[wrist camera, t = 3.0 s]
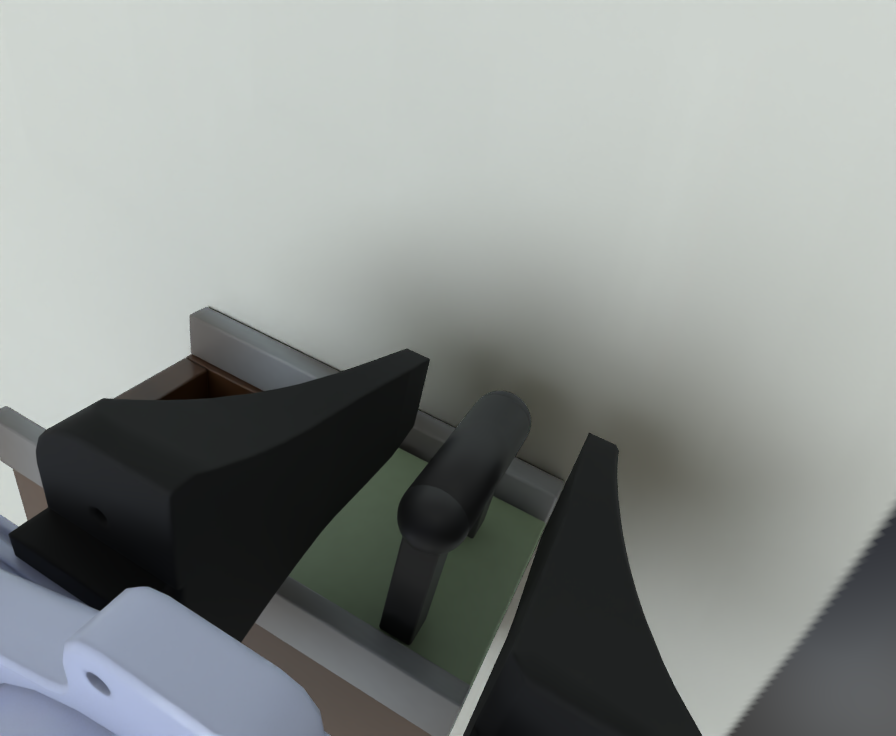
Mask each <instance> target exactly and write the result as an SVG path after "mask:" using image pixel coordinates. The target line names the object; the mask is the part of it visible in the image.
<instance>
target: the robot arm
mask: <svg viewBox="0 0 896 736" xmlns="http://www.w3.org/2000/svg"><path fill="white" fill-rule="evenodd" d="M429 362H430V359H429V358H427V357H424V356H422V355H420V354H418V353H416V352H414V351H411V350H409V349H405V350H402V351H399V352H396V353H393V354H390V355H388V356H385V357H382V358H379V359H377V360H374V361H371V362H368V363H365V364H362V365H360V366H357V367H354V368H351V369H348V370H345V371H342V372H339V373H336V374H332V375H329V376H325V377H322V378H318V379H315V380H311V381H308V382H304V383H301V384H296V385H292V386H288V387H283V388H279V389H273V390H268V391H263V392H257V393H250V394H242V395H233V396H225V397H216V398H205V399H188V400H131V399H106V398H103V399H101V400H99V401H97V402H95V403H94V404H92V405H90V406H88V407H86V408H85V409H83V410H81V411H79V412H77V413H76V414H74V415H72V416H70V417H68V418H67V419H65V420H63V421H61V422H59V423H58V424H56V425H54V426H52V427H51V428H49V429H47V430H45V431H44V432H43V433H42V434H41V435H40V436H39V437H38V442H37V447H36V459H37V465H38V469H39V473H40V477H41V481H42V485H43V489H44V493H45V497H46V501H47V505H48V508H46V509H45V510H43V511H42V512H40V513H39V514H37V515H36V516H34V517H33V518H31V519H30V520H28V521H27V522H25V523H24V524H22V525H21V526H19V527H18V526H17V525H15V524H14V523H12V522H11V521H9V520H8V519H6V518H5V517H3V516H2V515H0V736H331V735H329V734H328V733H326V732H325V731H324V727H323V723H322V718H321V713H320V710H319V709H318V707H317V706H316V704H315V703H314V702H313V700H312V699H311V697H310V696H309V695H308V693H307V692H306V691H305V689H304V688H303V687H302V686H301V685H299V684H298V683H297V682H296V681H295V680H293V679H292V678H291V677H290V676H289V675H287V674H286V673H285V672H284V671H283V670H281V669H280V668H279V667H277V666H276V665H274V664H273V663H271V662H270V661H268V660H266V659H265V658H263V657H262V656H260V655H259V654H257V653H256V652H254V651H253V650H251V649H250V648H248V647H247V646H245V645H243V644H242V643H241V642H242V641H243V639H244V638H245V636H246V635H247V633H248V632H249V630H250V629H251V628H252V626H253V625H254V623H255V622H256V620H257V619H258V618H259V616H260V615H261V613H262V612H263V610H264V609H265V608H266V606H267V605H268V603H269V602H270V600H271V599H272V598H273V596H274V595H275V593H276V592H277V591H278V589H279V588H280V587H281V585H282V584H283V582H284V581H285V580H286V578H287V577H288V576H289V574H290V573H291V572H292V570H293V569H294V567H295V566H296V565H297V563H298V562H299V561H300V559H301V558H302V557H303V556H304V554H305V553H306V552H307V550H308V549H309V548H310V546H311V545H312V544H313V542H314V541H315V540H316V539H317V537H318V536H319V535H320V533H321V532H322V531H323V530H324V529H325V527H326V526H327V525H328V524H329V523H330V522H331V520H332V519H333V518H334V517H335V516H336V515H337V514H338V513H339V512H340V511H341V510H342V509H343V508H344V507H345V506H346V505H347V503H348V502H349V501H350V500H351V499H352V498H353V497H354V496H355V495H356V494H357V493H358V492H359V491H360V490H361V489H362V488H363V487H364V486H365V485H366V484H367V483H368V482H369V480H370V479H371V478H372V477H373V476H374V475H375V474H376V473H377V472H378V471H379V470H380V469H381V468H382V467H383V466H384V465H385V463H386V462H387V461H388V460H389V459H390V458H391V457H392V456H393V454H394V453H395V452H396V450H397V449H398V448H399V446H400V445H401V444H402V442H403V441H404V439H405V438H406V436H407V435H408V434H409V432H410V431H411V429H412V428H413V426H414V424H415V420H416V416H417V412H418V408H419V403H420V399H421V395H422V391H423V387H424V382H425V378H426V374H427V370H428V366H429ZM618 454H619V450H618V448H617V446H616V445H615V444H613V443H611V442H608V441H606V440H604V439H602V438H600V437H598V436H595V435H593V434H591V433H589V434H588V436H587V438H586V441H585V443H584V445H583V447H582V449H581V451H580V454H579V456H578V458H577V460H576V462H575V464H574V466H573V469H572V471H571V473H570V475H569V477H568V479H567V482H566V484H565V486H564V488H563V490H562V492H561V494H560V497H559V499H558V501H557V503H556V505H555V507H554V510H553V512H552V514H551V516H550V518H549V520H548V523H547V525H546V527H545V529H544V531H543V534H542V536H541V539H540V542H539V545H538V548H537V551H536V554H535V557H534V560H533V563H532V566H531V569H530V572H529V575H528V578H527V581H526V584H525V587H524V590H523V593H522V596H521V599H520V602H519V605H518V608H517V611H516V614H515V617H514V620H513V623H512V625H511V628H510V630H509V633H508V636H507V638H506V640H505V643H504V645H503V647H502V649H501V652H500V654H499V656H498V658H497V661H496V663H495V665H494V667H493V670H492V672H491V674H490V676H489V679H488V681H487V683H486V685H485V688H484V690H483V692H482V694H481V697H480V699H479V701H478V703H477V706H476V708H475V710H474V712H473V714H472V717H471V719H470V721H469V723H468V726H467V728H466V730H465V732H464V735H463V736H702V734H701V733H700V731H699V729H698V727H697V726H696V724H695V722H694V720H693V718H692V717H691V715H690V713H689V711H688V710H687V708H686V706H685V704H684V702H683V701H682V699H681V697H680V695H679V693H678V692H677V690H676V688H675V686H674V684H673V682H672V680H671V678H670V676H669V673H668V671H667V669H666V667H665V665H664V663H663V661H662V658H661V656H660V653H659V651H658V648H657V646H656V643H655V641H654V638H653V636H652V633H651V631H650V629H649V626H648V624H647V621H646V619H645V616H644V613H643V610H642V607H641V604H640V601H639V598H638V595H637V591H636V588H635V584H634V581H633V577H632V574H631V570H630V566H629V561H628V557H627V553H626V547H625V542H624V537H623V531H622V525H621V517H620V508H619V500H618V483H617V464H618Z"/></svg>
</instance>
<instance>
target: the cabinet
mask: <svg viewBox="0 0 896 736" xmlns="http://www.w3.org/2000/svg"><path fill="white" fill-rule="evenodd" d="M190 340H191V353H192V354H191V355H189V356H187V358H184V359H182V360H181V361H179V362H177V363H175V364H174V365H172V366H170V367H168V368H167V369H165V370H163V371H161V372H159V373H158V374H156V375H154V376H152V377H151V378H149V379H147V380H145V381H144V382H142V383H140V384H138V385H137V386H135V387H133V388H131V389H130V390H128V391H126V392H124V393H122V394H121V395H119V396H117V397H115V398H114V399H131V400H188V399H205V398H216V397H225V396H233V395H242V394H250V393H257V392H263V391H268V390H273V389H279V388H283V387H288V386H292V385H296V384H301V383H304V382H308V381H311V380H315V379H318V378H322V377H325V376H329V375H332V374H336V373H339V371H337V370H335V369H333V368H331V367H329V366H327V365H325V364H323V363H321V362H319V361H317V360H315V359H313V358H311V357H309V356H307V355H305V354H303V353H301V352H298V351H296V350H294V349H292V348H290V347H288V346H286V345H284V344H282V343H280V342H278V341H276V340H274V339H272V338H270V337H268V336H266V335H264V334H262V333H260V332H258V331H255V330H253V329H251V328H249V327H247V326H245V325H243V324H241V323H239V322H237V321H235V320H233V319H231V318H229V317H227V316H225V315H223V314H221V313H219V312H217V311H215V310H212V309H210V308H208V307H205V308H203V309H201V310H199V311H197V312H195V313H193V314H191V315H190ZM455 429H456V428H454V427H452V426H450V425H448V424H446V423H444V422H442V421H440V420H438V419H436V418H434V417H432V416H430V415H428V414H425V413H423V412H421V411H419V410H418V412H417V416H416V420H415V424H414V426H413V428H412V429H411V431H410V432H409V434H408V435H407V436H406V438H405V439H404V441H403V442H402V444H401V445H400V446H399V448H400V449H402V450H404V451H406V452H408V453H410V454H412V455H414V456H416V457H418V458H420V459H422V460H424V461H426V462H428V463H429V462H430V460H431V459H432V458H433V456H434V455H435V454H436V453H437V451H438V450H439V449H440V448H441V446H442V445H443V444H444V443H445V441H446V440H447V439H448V437H449V436H450V435H451V434H452V432H453V431H454V430H455ZM45 430H46V429H44V428H43V427H41V426H39V425H38V424H36V423H34V422H33V421H31V420H29V419H28V418H26V417H24V416H23V415H21V414H19V413H18V412H16V411H14V410H13V409H11V408H9V407H8V406H5V407H3V408H1V409H0V460H1V461H2V462H3V463H5V464H7V465H8V466H10V467H11V468H13V471H14V475H15V478H16V482H17V485H18V489H19V492H20V496H21V499H22V503H23V506H24V510H25V513H26V517H27V520H30V519H31V518H33V517H34V516H36V515H37V514H39V513H40V512H42V511H43V510H45V509H46V508H48V505H47V501H46V497H45V493H44V489H43V485H42V481H41V477H40V473H39V469H38V465H37V459H36V447H37V442H38V437H39V436H40V435H41V434H42V433H43V432H44V431H45ZM563 487H564V481H563V480H561V479H559V478H557V477H555V476H552V475H550V474H548V473H546V472H544V471H542V470H540V469H538V468H536V467H534V466H532V465H530V464H528V463H526V462H524V461H522V460H520V459H518V458H516V457H514V459H513V461H512V462H511V464H510V466H509V467H508V469H507V471H506V472H505V474H504V476H503V477H502V479H501V480H500V482H499V484H498V485H497V487H496V490H495V492H494V495H493V496H494V497H496V498H498V499H500V500H502V501H504V502H506V503H508V504H510V505H512V506H514V507H516V508H518V509H520V510H522V511H524V512H526V513H528V514H530V515H532V516H534V517H535V518H537V519H539V520H541V521H543V522H545V525H546V524H547V521H548V519H549V517H550V515H551V513H552V511H553V508H554V506H555V504H556V502H557V500H558V498H559V495H560V493H561V491H562V489H563ZM241 643H242V644H243V645H245V646H247V647H248V648H250V649H251V650H253V651H254V652H256V653H257V654H259V655H260V656H262V657H263V658H265V659H266V660H268V661H270V662H271V663H273V664H274V665H276V666H277V667H279V668H280V669H281V670H283V671H284V672H285V673H286V674H287V675H289V676H290V677H291V678H292V679H293V680H295V681H296V682H297V683H298V684H299V685H301V686H302V687H303V688H304V689H305V691H306V692H307V693H308V695H309V696H310V697H311V699H312V700H313V702H314V703H315V704H316V706H317V707H318V709H319V710H320V713H321V718H322V723H323V727H324V731H325V732H326V733H328V734H329V735H331V736H449V734H450V732H451V730H452V728H453V726H454V724H455V722H456V719H457V717H458V715H459V713H460V711H461V709H462V707H463V704H464V702H465V700H466V698H467V696H468V694H469V691H470V685H469V684H467V683H466V682H464V681H462V680H461V679H459V678H457V677H456V676H454V675H452V674H451V673H449V672H447V671H446V670H444V669H442V668H441V667H439V666H437V665H436V664H434V663H432V662H431V661H429V660H427V659H426V658H424V657H422V656H421V655H419V654H417V653H416V652H414V651H412V650H411V649H409V648H408V647H406V646H404V645H403V644H401V643H399V642H398V641H396V640H394V639H393V638H391V637H389V636H388V635H386V634H384V633H383V632H381V631H379V630H378V629H376V628H374V627H373V626H371V625H369V624H368V623H366V622H364V621H363V620H361V619H359V618H358V617H356V616H354V615H353V614H351V613H349V612H348V611H346V610H344V609H343V608H341V607H340V606H338V605H336V604H335V603H333V602H331V601H330V600H328V599H326V598H325V597H323V596H321V595H320V594H318V593H316V592H315V591H313V590H311V589H310V588H308V587H306V586H305V585H303V584H301V583H300V582H298V581H296V580H295V579H293V578H291V577H290V576H288V577H287V578H286V580H285V581H284V582H283V584H282V585H281V587H280V588H279V589H278V591H277V592H276V593H275V595H274V596H273V598H272V599H271V600H270V602H269V603H268V605H267V606H266V608H265V609H264V610H263V612H262V613H261V615H260V616H259V618H258V619H257V620H256V622H255V623H254V625H253V626H252V628H251V629H250V630H249V632H248V633H247V635H246V636H245V638H244V639H243V641H242V642H241Z"/></svg>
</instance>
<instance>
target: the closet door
mask: <svg viewBox="0 0 896 736" xmlns="http://www.w3.org/2000/svg"><path fill="white" fill-rule="evenodd" d="M530 427H531V417H530V413H529V410H528V408H527V406H526V404H525V403H524V402H523V400H522V399H520V398H519V397H518V396H516V395H515V394H513V393H510V392H507V391H494V392H490V393H488V394H486V395H484V396H483V397H481V398H480V399H479V400H478V401H477V402H476V403H475V405H474V406H473V407H472V408H471V410H470V411H469V412H468V413H467V415H466V416H465V417H464V419H463V420H462V421H461V422H460V424H459V425H458V426H457V427H456V429H455V430H454V431H453V432H452V434H451V435H450V436H449V437H448V439H447V440H446V441H445V443H444V444H443V445H442V446H441V448H440V449H439V450H438V451H437V453H436V454H435V455H434V456H433V458H432V459H431V460H430V462H429V463H428V462H426V461H424V460H422V459H420V458H418V457H416V456H414V455H412V454H410V453H408V452H406V451H404V450H402V449H400V448H398V449H397V450H396V452H395V453H394V454H393V456H392V457H391V458H390V459H389V460H388V461H387V462H386V463H385V465H384V466H383V467H382V468H381V469H380V470H379V471H378V472H377V473H376V474H375V475H374V476H373V477H372V478H371V479H370V480H369V482H368V483H367V484H366V485H365V486H364V487H363V488H362V489H361V490H360V491H359V492H358V493H357V494H356V495H355V496H354V497H353V498H352V499H351V500H350V501H349V502H348V503H347V505H346V506H345V507H344V508H343V509H342V510H341V511H340V512H339V513H338V514H337V515H336V516H335V517H334V518H333V519H332V520H331V522H330V523H329V524H328V525H327V526H326V527H325V529H324V530H323V531H322V532H321V533H320V535H319V536H318V537H317V539H316V540H315V541H314V542H313V544H312V545H311V546H310V548H309V549H308V550H307V552H306V553H305V554H304V556H303V557H302V558H301V559H300V561H299V562H298V563H297V565H296V566H295V567H294V569H293V570H292V572H291V573H290V574H289V576H290V577H291V578H293V579H295V580H296V581H298V582H300V583H301V584H303V585H305V586H306V587H308V588H310V589H311V590H313V591H315V592H316V593H318V594H320V595H321V596H323V597H325V598H326V599H328V600H330V601H331V602H333V603H335V604H336V605H338V606H340V607H341V608H343V609H344V610H346V611H348V612H349V613H351V614H353V615H354V616H356V617H358V618H359V619H361V620H363V621H364V622H366V623H368V624H369V625H371V626H373V627H374V628H376V629H378V630H379V631H381V632H383V633H384V634H386V635H388V636H389V637H391V638H393V639H394V640H396V641H398V642H399V643H401V644H403V645H404V646H406V647H408V648H409V649H411V650H412V651H414V652H416V653H417V654H419V655H421V656H422V657H424V658H426V659H427V660H429V661H431V662H432V663H434V664H436V665H437V666H439V667H441V668H442V669H444V670H446V671H447V672H449V673H451V674H452V675H454V676H456V677H457V678H459V679H461V680H462V681H464V682H466V683H467V684H469V685H470V689H471V687H472V685H473V682H474V680H475V678H476V676H477V674H478V672H479V669H480V667H481V665H482V663H483V661H484V658H485V656H486V654H487V652H488V650H489V648H490V645H491V643H492V641H493V639H494V637H495V635H496V632H497V630H498V628H499V626H500V624H501V621H502V619H503V617H504V615H505V613H506V611H507V608H508V606H509V604H510V602H511V600H512V598H513V595H514V593H515V591H516V589H517V587H518V585H519V582H520V580H521V578H522V576H523V574H524V571H525V569H526V567H527V565H528V563H529V561H530V558H531V556H532V554H533V552H534V550H535V548H536V545H537V543H538V541H539V539H540V537H541V534H542V532H543V530H544V528H545V526H546V525H545V522H543V521H541V520H539V519H537V518H535V517H534V516H532V515H530V514H528V513H526V512H524V511H522V510H520V509H518V508H516V507H514V506H512V505H510V504H508V503H506V502H504V501H502V500H500V499H498V498H496V497H494V496H493V495H494V492H495V490H496V487H497V485H498V484H499V482H500V480H501V479H502V477H503V476H504V474H505V472H506V471H507V469H508V467H509V466H510V464H511V462H512V461H513V459H514V457H515V456H516V454H517V452H518V451H519V449H520V447H521V446H522V444H523V442H524V441H525V439H526V437H527V435H528V433H529V431H530Z"/></svg>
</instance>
